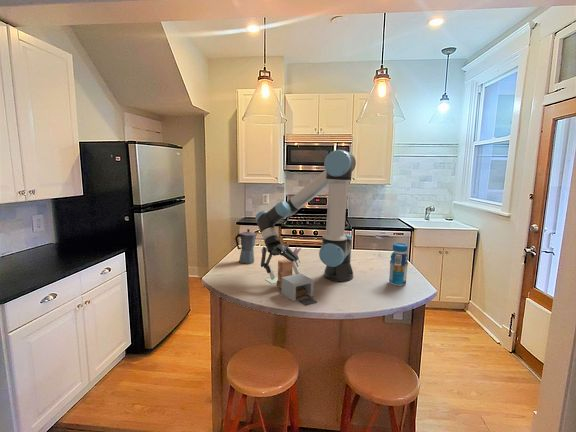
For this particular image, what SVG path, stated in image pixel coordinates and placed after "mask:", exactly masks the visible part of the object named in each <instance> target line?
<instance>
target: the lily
mask: <svg viewBox="0 0 576 432" xmlns="http://www.w3.org/2000/svg"><path fill="white" fill-rule="evenodd" d="M301 250H302V247H300V248H298V246H296V247H295V249H294V250H293V252H294V253H295V254H296V255H297V256H298V258H299V255H298V254H299V252H300V251H301ZM299 259H300V258H299ZM299 259H298V260H297V261H298V262H299V263H301V261H300V260H299Z"/></svg>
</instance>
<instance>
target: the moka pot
mask: <svg viewBox="0 0 576 432" xmlns="http://www.w3.org/2000/svg"><path fill="white" fill-rule="evenodd" d="M257 235H258V233H257V232H252V231H251V230H250V229H249V228H247V229H246V231H244V232H241V233H237V234H236V235H235V238H234V240H235V244H236V247H237V250H240V255H239V260H238V261H239V263H241V264H247V265H248V264H253V263H255V254H254V253H255V251H254V247H255V244H256V237H257ZM238 238H240V245H239V240H238ZM240 246H241V247H240Z"/></svg>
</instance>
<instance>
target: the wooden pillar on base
mask: <svg viewBox="0 0 576 432" xmlns="http://www.w3.org/2000/svg"><path fill="white" fill-rule="evenodd" d="M290 275H293V262H292V261H290V260H288V259H287V258H285V259H279V260H277V277H278V281H277V283H276V286H277V288H280V289H281V286H282V277H285V276H290ZM305 295H307V294H306V289H304V288H302V287H301V286H296V298H297V297H301V296H305Z"/></svg>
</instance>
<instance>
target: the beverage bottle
mask: <svg viewBox="0 0 576 432" xmlns="http://www.w3.org/2000/svg"><path fill="white" fill-rule="evenodd" d="M392 251H393V252H392V253H391V254H390V261H389V276H388V277H389V279H388V282H389V284H391V285H393V286H397V285H398V286H399V287H401V286H402V285H403V286H405V285H406V284H407V277H408V276H407V275H408V266H409V262H408V260H409V256H408V254H407V252H408V245H407V244H406V243H401V242H396V243H395V242H394V243H393V244H392ZM398 286H397V287H398Z"/></svg>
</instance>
